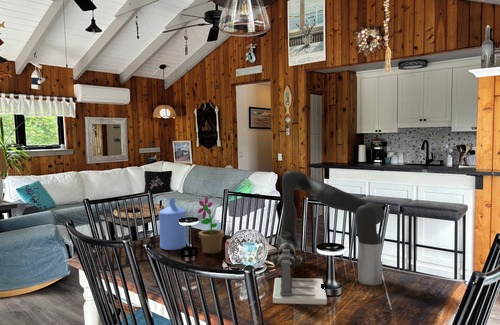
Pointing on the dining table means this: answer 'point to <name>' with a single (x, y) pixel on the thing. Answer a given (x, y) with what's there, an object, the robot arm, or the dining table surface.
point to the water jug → (172, 227)
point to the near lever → (286, 279)
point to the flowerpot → (209, 231)
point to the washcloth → (271, 249)
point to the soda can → (227, 251)
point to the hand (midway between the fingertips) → (286, 265)
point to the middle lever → (285, 257)
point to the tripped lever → (286, 251)
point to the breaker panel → (301, 292)
